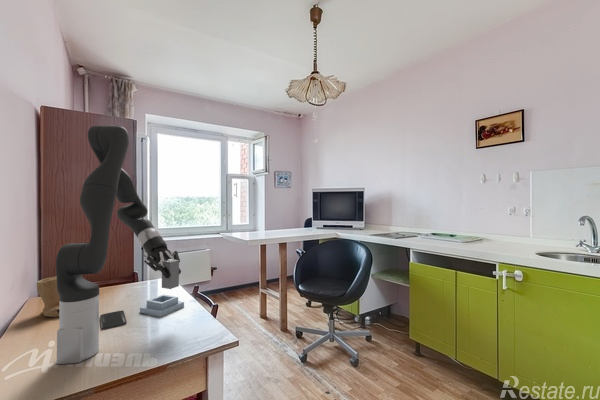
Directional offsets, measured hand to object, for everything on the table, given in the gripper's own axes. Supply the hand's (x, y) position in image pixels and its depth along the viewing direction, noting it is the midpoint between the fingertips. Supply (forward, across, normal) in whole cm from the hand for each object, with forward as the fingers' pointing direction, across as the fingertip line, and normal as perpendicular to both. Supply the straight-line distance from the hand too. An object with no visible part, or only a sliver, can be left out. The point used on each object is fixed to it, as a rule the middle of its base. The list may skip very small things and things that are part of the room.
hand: (174, 275), depth 102 cm
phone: (-4, -7, +30) cm, 31 cm away
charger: (+2, 0, +5) cm, 5 cm away
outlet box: (+2, +8, +24) cm, 25 cm away
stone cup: (-25, -12, +51) cm, 58 cm away
